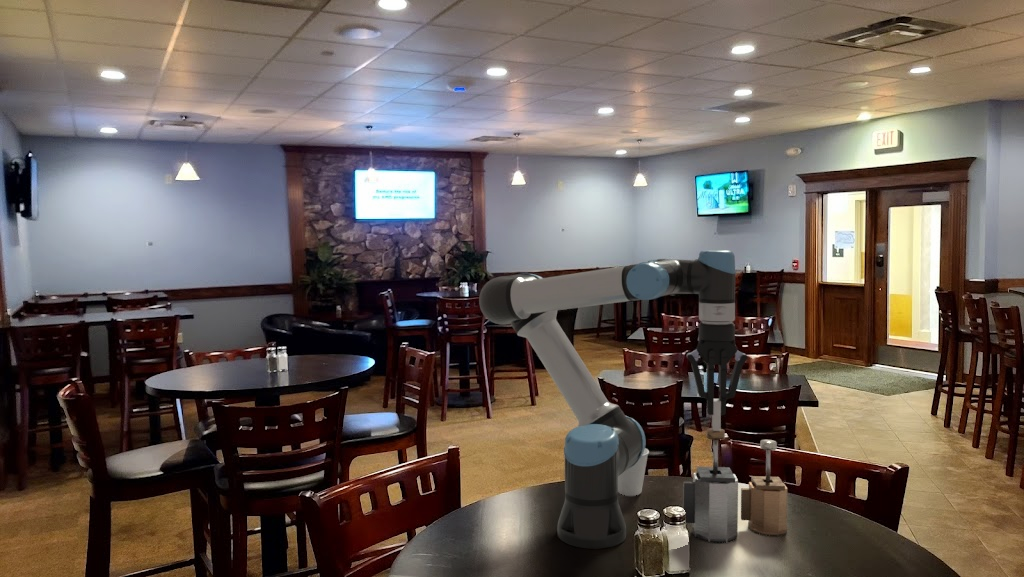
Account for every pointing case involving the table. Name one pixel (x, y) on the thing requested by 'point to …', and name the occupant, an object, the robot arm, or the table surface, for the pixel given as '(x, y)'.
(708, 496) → the steel press
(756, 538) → the table surface
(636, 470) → the cup
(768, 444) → the grey press handle
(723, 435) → the steel plunger
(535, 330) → the robot arm
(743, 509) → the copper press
